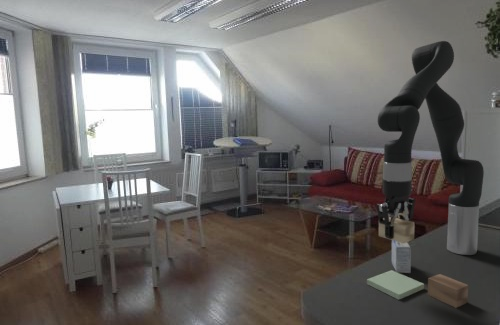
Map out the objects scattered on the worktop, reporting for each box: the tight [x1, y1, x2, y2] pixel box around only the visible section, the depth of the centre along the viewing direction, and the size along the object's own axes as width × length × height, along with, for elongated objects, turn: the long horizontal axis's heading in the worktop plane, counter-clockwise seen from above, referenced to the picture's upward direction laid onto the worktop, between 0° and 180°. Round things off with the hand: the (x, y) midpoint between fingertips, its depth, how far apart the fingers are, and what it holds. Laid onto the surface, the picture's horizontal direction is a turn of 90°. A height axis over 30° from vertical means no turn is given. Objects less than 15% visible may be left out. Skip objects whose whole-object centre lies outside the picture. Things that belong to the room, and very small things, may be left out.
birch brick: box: [378, 217, 415, 244], centre depth 101 cm, size 5×8×5 cm, turn 35°
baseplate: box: [366, 269, 425, 300], centre depth 103 cm, size 11×11×2 cm
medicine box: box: [390, 240, 412, 274], centre depth 115 cm, size 8×4×9 cm, turn 168°
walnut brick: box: [427, 273, 469, 309], centre depth 95 cm, size 5×8×5 cm, turn 28°
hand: (395, 235), depth 101 cm, fingers closed on birch brick, 5 cm apart
